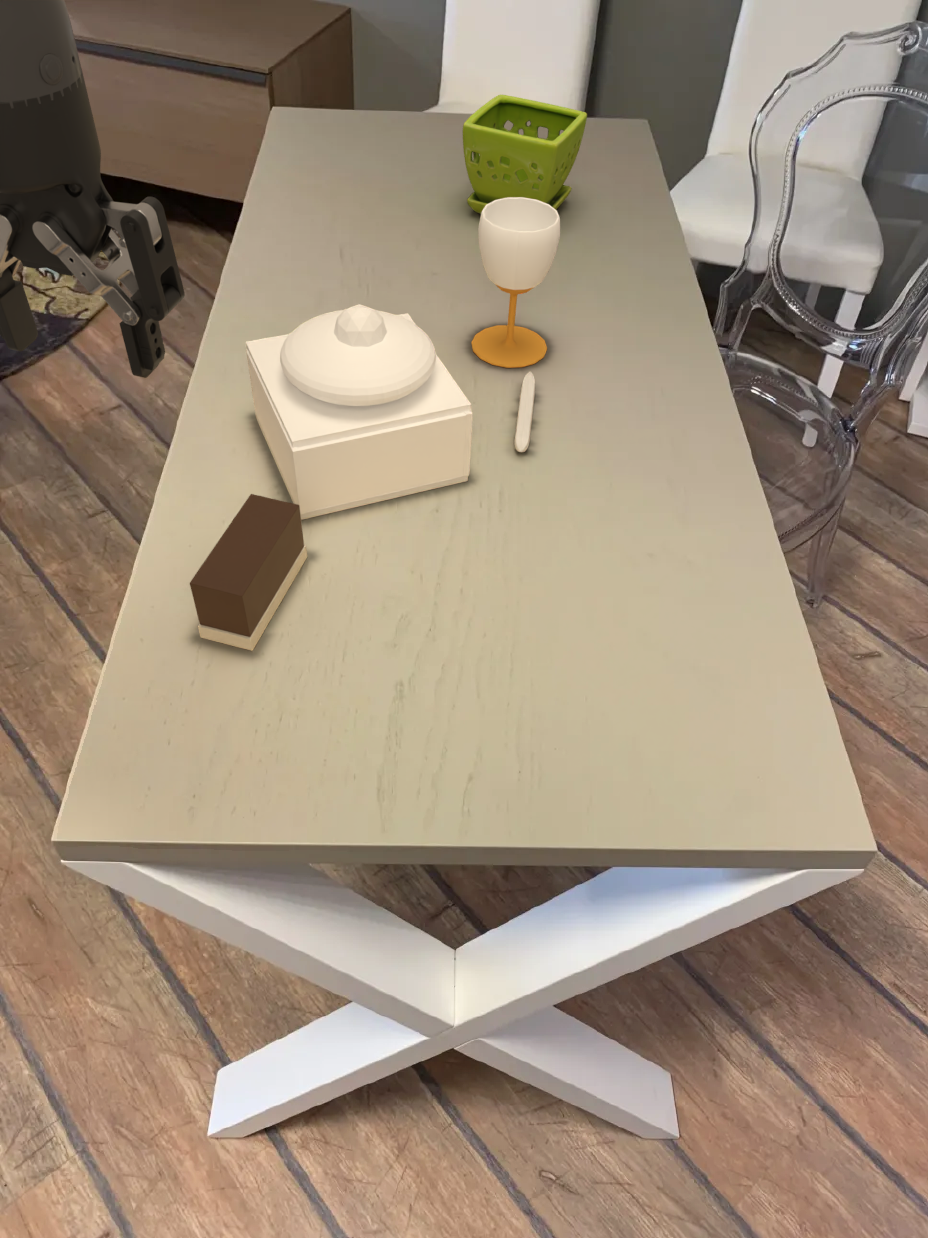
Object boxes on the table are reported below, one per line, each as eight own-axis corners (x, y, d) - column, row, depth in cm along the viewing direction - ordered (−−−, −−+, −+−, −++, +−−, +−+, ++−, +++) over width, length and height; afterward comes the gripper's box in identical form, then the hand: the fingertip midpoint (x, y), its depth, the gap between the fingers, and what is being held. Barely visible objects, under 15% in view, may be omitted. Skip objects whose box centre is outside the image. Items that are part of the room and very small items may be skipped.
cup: (547, 329, 115) (563, 198, 103) (546, 371, 109) (562, 237, 97) (474, 323, 116) (481, 192, 104) (468, 364, 110) (475, 230, 98)
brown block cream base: (259, 545, 88) (250, 491, 83) (307, 556, 87) (301, 503, 82) (200, 637, 80) (186, 584, 75) (252, 651, 79) (242, 598, 75)
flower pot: (546, 240, 131) (557, 144, 122) (455, 217, 134) (458, 123, 125) (579, 200, 140) (591, 109, 131) (492, 181, 143) (498, 90, 134)
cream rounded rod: (535, 381, 108) (537, 369, 107) (527, 457, 98) (529, 444, 97) (522, 380, 108) (523, 367, 107) (512, 455, 99) (514, 442, 97)
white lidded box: (300, 520, 90) (284, 378, 79) (254, 414, 101) (234, 275, 90) (469, 481, 95) (477, 341, 84) (408, 384, 106) (407, 249, 95)
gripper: (169, 63, 47) (218, 347, 60) (-76, 25, 50) (19, 306, 62) (88, 116, 43) (159, 414, 55) (-179, 71, 45) (-54, 367, 57)
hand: (85, 357), depth 58 cm, fingers open, 8 cm apart
